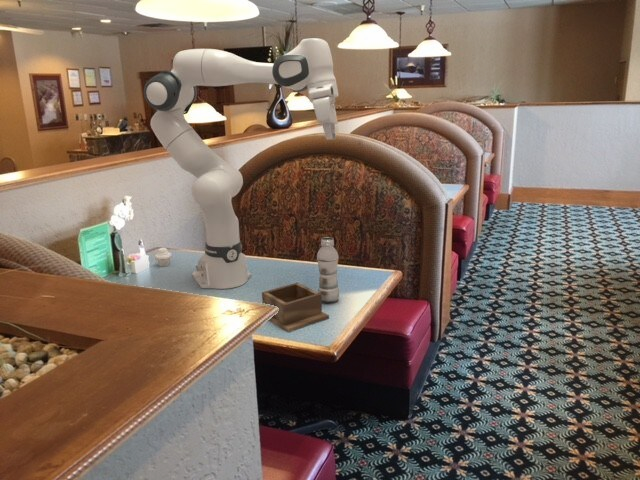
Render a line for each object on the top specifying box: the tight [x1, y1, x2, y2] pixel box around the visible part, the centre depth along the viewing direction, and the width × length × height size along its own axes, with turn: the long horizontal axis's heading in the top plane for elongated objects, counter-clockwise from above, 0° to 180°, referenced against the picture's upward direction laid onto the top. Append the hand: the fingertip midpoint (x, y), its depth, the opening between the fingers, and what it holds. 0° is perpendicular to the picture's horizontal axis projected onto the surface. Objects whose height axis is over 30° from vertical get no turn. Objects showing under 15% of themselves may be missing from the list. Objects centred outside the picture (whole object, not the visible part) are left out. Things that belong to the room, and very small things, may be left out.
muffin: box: [154, 247, 172, 267], centre depth 206 cm, size 6×6×7 cm
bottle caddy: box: [261, 282, 330, 333], centre depth 158 cm, size 17×14×7 cm
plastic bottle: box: [316, 236, 341, 303], centre depth 166 cm, size 6×7×20 cm
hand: (331, 139), depth 165 cm, fingers open, 8 cm apart
